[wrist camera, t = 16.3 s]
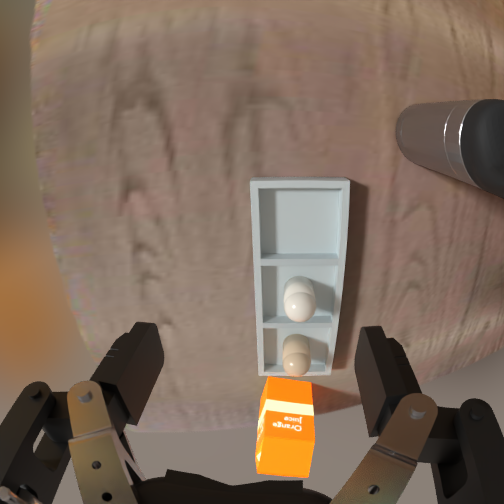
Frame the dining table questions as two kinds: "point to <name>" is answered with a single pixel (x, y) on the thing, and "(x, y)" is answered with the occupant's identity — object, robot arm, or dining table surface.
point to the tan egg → (296, 355)
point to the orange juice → (285, 428)
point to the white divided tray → (298, 263)
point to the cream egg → (299, 299)
